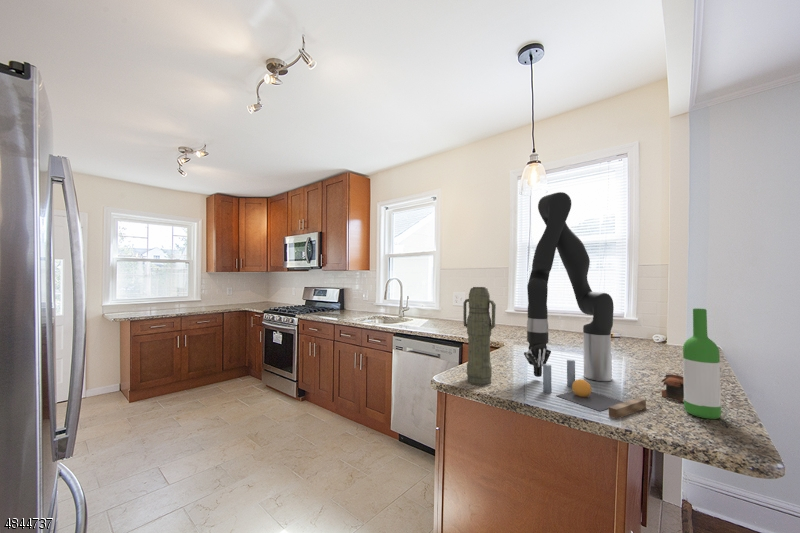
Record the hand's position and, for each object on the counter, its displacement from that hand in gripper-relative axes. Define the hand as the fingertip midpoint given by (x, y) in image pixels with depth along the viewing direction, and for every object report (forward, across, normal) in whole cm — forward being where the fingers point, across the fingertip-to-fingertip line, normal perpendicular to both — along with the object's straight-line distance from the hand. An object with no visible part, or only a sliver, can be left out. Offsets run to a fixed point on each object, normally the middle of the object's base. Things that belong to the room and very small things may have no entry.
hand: (537, 376), depth 123 cm
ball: (-1, -2, -18) cm, 18 cm away
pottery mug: (+2, +25, -34) cm, 43 cm away
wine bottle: (+2, +15, -43) cm, 46 cm away
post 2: (+2, +5, -10) cm, 11 cm away
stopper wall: (+2, -2, -32) cm, 32 cm away
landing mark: (+2, -2, -21) cm, 21 cm away
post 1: (+2, -8, -10) cm, 13 cm away
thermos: (+2, -21, +9) cm, 23 cm away
